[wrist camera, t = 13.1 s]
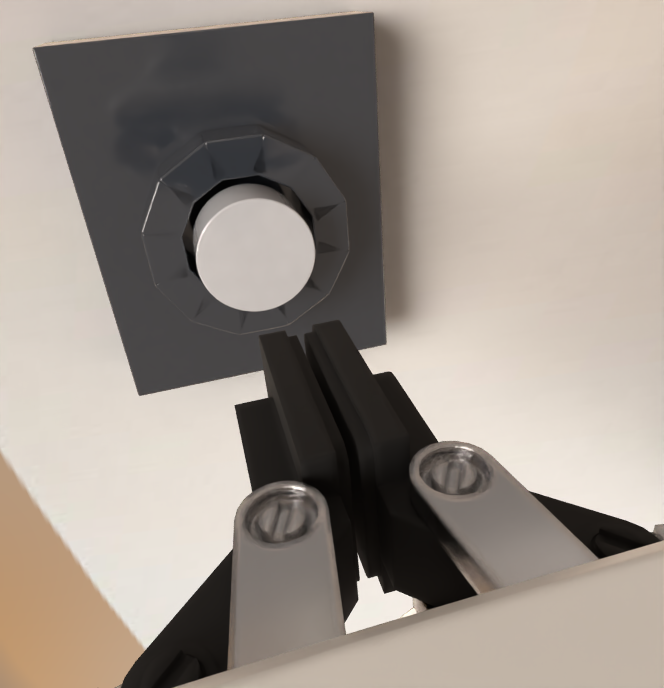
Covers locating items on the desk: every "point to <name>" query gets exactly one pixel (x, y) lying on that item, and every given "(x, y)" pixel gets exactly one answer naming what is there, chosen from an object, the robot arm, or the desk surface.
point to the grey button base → (223, 177)
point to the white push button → (252, 247)
